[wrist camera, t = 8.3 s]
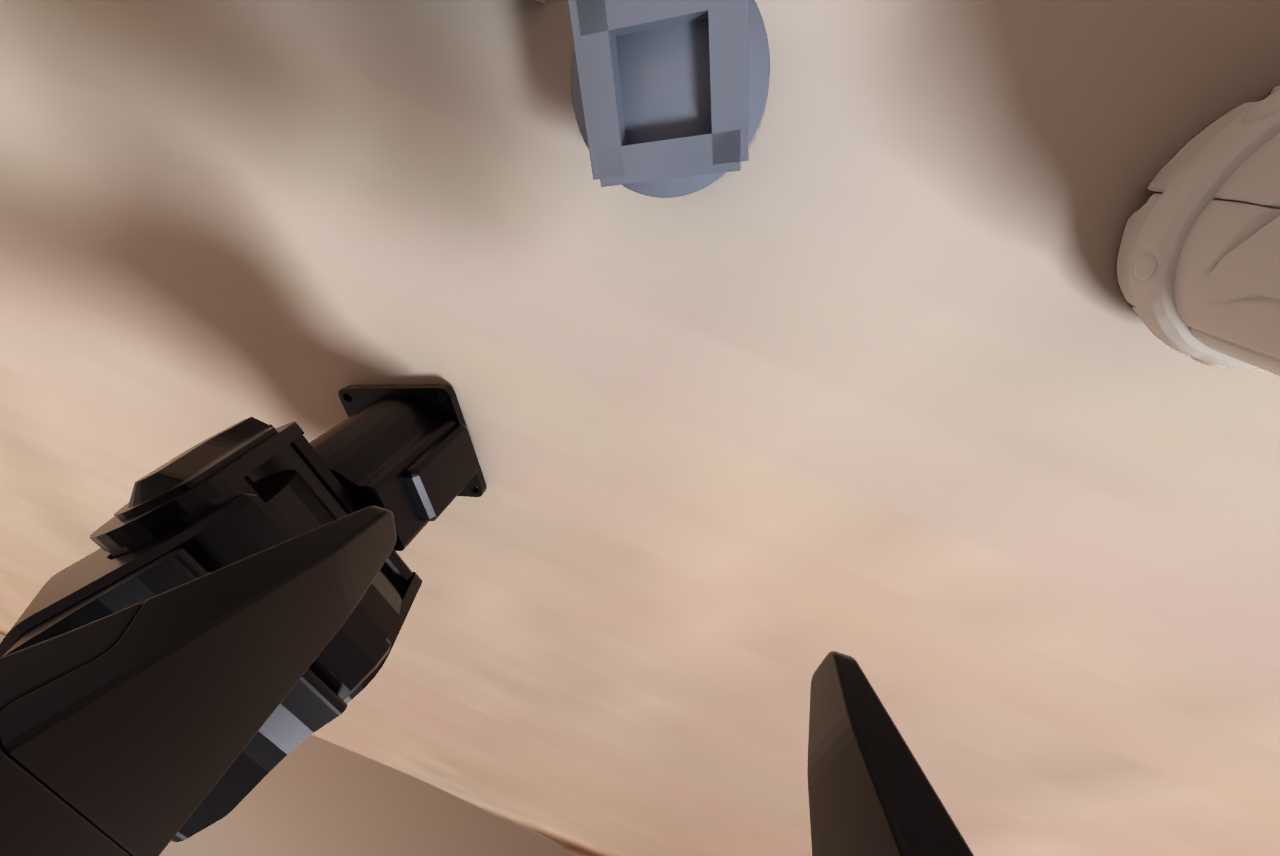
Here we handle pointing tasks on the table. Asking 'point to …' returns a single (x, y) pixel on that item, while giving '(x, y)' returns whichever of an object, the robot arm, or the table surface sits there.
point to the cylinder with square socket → (668, 89)
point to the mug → (1213, 244)
